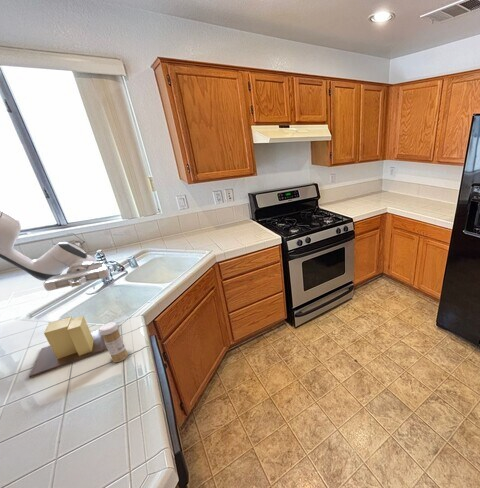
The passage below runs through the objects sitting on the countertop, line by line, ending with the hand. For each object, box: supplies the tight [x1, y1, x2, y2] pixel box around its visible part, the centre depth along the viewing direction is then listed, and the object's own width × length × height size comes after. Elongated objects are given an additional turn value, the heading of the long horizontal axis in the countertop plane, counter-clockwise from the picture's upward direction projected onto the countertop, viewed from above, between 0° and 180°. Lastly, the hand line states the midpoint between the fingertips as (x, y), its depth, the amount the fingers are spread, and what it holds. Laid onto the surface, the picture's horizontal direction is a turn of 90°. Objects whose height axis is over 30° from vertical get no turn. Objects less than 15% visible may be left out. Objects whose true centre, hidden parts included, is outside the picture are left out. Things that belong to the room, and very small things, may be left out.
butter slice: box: [67, 315, 94, 356], centre depth 93 cm, size 3×8×11 cm, turn 36°
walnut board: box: [28, 329, 108, 379], centre depth 96 cm, size 22×16×1 cm
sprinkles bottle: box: [98, 321, 129, 363], centre depth 88 cm, size 5×5×14 cm
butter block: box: [43, 316, 77, 359], centre depth 93 cm, size 6×7×11 cm
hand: (75, 284), depth 103 cm, fingers closed
